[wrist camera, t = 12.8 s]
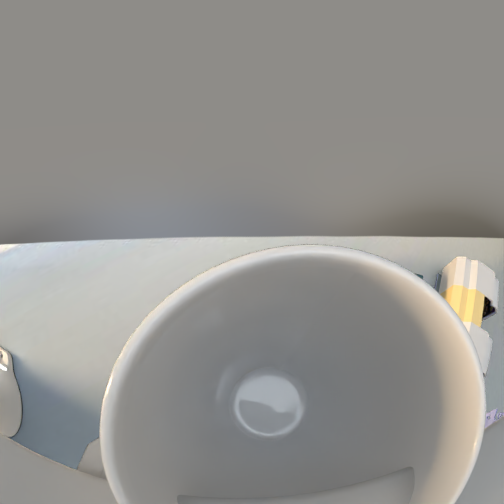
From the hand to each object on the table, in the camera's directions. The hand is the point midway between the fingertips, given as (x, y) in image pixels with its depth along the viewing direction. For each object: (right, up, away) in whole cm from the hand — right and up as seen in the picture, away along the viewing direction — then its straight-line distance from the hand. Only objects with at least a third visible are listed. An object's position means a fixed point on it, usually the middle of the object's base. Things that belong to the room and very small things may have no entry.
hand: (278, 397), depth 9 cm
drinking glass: (0, -5, +7) cm, 9 cm away
